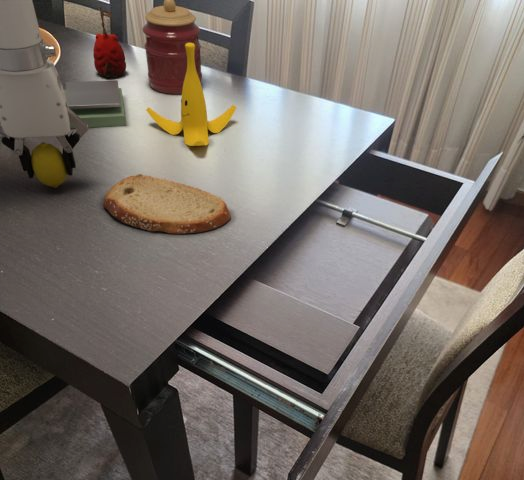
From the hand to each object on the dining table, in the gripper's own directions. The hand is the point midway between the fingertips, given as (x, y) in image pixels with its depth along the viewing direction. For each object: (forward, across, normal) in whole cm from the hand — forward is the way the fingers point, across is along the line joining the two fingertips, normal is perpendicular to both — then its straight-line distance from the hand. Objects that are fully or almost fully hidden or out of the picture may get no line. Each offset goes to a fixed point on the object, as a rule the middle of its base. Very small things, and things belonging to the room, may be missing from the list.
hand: (51, 171), depth 83 cm
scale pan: (-1, -7, -31) cm, 32 cm away
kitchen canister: (+3, -26, -45) cm, 52 cm away
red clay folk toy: (+3, -11, -53) cm, 54 cm away
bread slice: (+3, -18, +10) cm, 21 cm away
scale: (+3, -5, -31) cm, 31 cm away
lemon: (+3, 0, 0) cm, 3 cm away
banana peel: (+3, -29, -19) cm, 35 cm away
